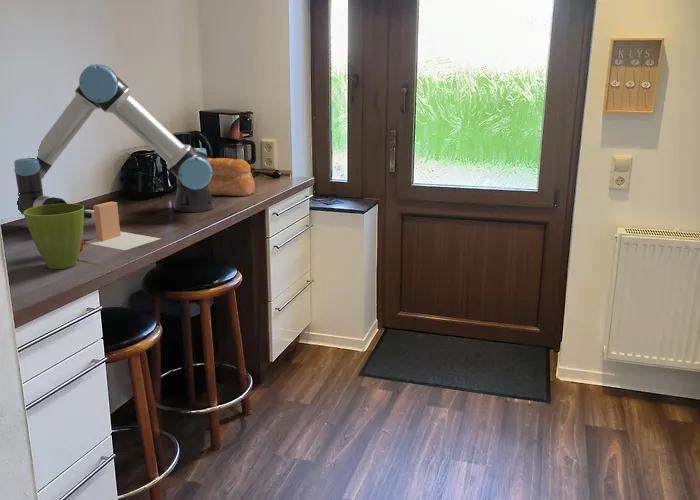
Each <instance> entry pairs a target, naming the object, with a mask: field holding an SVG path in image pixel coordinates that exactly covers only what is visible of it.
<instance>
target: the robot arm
mask: <svg viewBox="0 0 700 500" xmlns="http://www.w3.org/2000/svg"><path fill="white" fill-rule="evenodd" d="M78 79H79V80H78V84H79V85H78V86H77V88H76V89H75V90H74V91H75V93H74V94H75V96H74V97H73V98H72V99H71V101H70V103H69V104H68V105H67V106H66V107H65V109H64V110H63V112H62V113H61V114H60V116H59V117H58V119H56V121H55V122H54V124H52V126H51V127H50V129H49V130H48V131H47V133H46V134H45V136H44V137H43V138H42V140H40V142H41V144H40V146H39V149H38V156H37V159H35V158H29V157H25V158H18V159H15V161H14V162H13V163H14V166H13V167H14V172H15V178H16V179H15V180H16V185H17V195H18V196H19V198H18V201H17V205H18V210H19V211H20V212H21V214H20V215H24V213H23V212H24V211H25V210H27V209H29V208H33V207H37V206H43V205H51V204H68V203H67V201H66V200H65V199H63V198H59V197H53V196H47V195H44V190H43V182H42V180H43V179H44V177H45V176H46V175H47V173H48V172H49V170H51V168H52V166H53V165H54V164H55V162H57V160H58V159H59V157H60V156H61V154H63V152H64V151H65V149H66V148H67V147H68V145H69V144H70V143H71V141H72V140H73V139H74V137H75V136H76V135H77V133H78V132H79V131H80V130H81V128H82V127H83V126H84V124H85V123H86V122H87V120H88V119H89V118H90V117H91V115H92V114H93V112H94V111H95V110H99V109H101V110H102V111H103V112H104V113H112V114H113V115H114V116H115V117H116V118H117V119H119V120H120V121H121V122H122V123H123V124H124V125H126V126H127V127H128V129H130V130H131V131H132V132H133V133H134V134H135V135H136V136H137V137H138V138H140V139H141V140H142V141H143V142H144V144H146V145H147V146H148V147H149V148H151V149H152V150H153V151H154V152H155V154H157V155H158V156H160V157H161V158H162V159H163V160H164V161H165V162H166V168H167V170H168V171H170V172H171V173H172V174H173V175H174V176H175V177H176V184H177V186H176V187H177V188H176V194H175V198H174V201H173V209H174V210H175V211H177V212H182V213H183V212H184V213H197V212H205V211H210V210H214V208H215V200H214V198H213V195H211V193H210V190H209V186H208V183H209V182H210V180H211V178H212V167H211V165H210V163H209V162H208V161H207V158H208V154H207V150H206V148H204V147H199V148H197V147H193V146H192V145H190V144H184V143H183V142H182V141H181V140H180V139H178V138H177V137H176V136H175V135H174V134H173V133H172V132H170V130H169V129H167V128H166V127H165V126H164V125H163V124H162V122H160V121H159V120H158V119H157V118H156V117H155V116H154V115H153V114H151V113H150V112H149V111H148V110H147V109H146V108H145V107H144V106H143V105H142V104H141V103H140V102H139V101H138V100H136V99H135V98H134V97H133V95H131V92H130V87H129V86H128V85H127V83H125V82H124V81H123V80H122V79H121V78H119V76H117V74H116V73H115V72H114V70H113V69H112V68H110V67H108V66H106V65H104V64H96V63H95V64H90V65H89V66H86V67H85V68H84V69H83V71H82V72H81V74H80V75H79V78H78ZM45 174H46V175H45ZM44 175H45V176H44ZM19 193H20V194H19ZM78 204H79V205H82V206H84V220H91V221H95V216H94V207H92V206H88V205H85V204H83V203H78Z"/></svg>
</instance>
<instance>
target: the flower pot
mask: <svg viewBox="0 0 700 500" xmlns="http://www.w3.org/2000/svg"><path fill="white" fill-rule="evenodd" d="M79 204H80V203H67V204H51V205H43V206H37V207H33V208H29V209H27V210H25V211H24V212H23V213H24V220H25V222H26V225H27V228H28V231H29V233H30V236H31V238H32V240H33V242H34V244H35V247H36V249H37V250H38V253H39V254H40V256H41V259H42V260H43V262H44V263H45V265H46V266H47V268H48V269H50V270H63V269H69V268H72V267H74V266H76V265H77V263H78V260H79V255H80V253H81V252H80V248H81V242H82V235H83V236H84V223H85V218H84V206H82V205H79Z"/></svg>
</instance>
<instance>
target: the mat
mask: <svg viewBox="0 0 700 500" xmlns="http://www.w3.org/2000/svg"><path fill="white" fill-rule="evenodd" d="M120 235H121V236H119V237H116V238H112V239H109V240H105V241H100V240H97V238H94V239H90V240H89V239H88V240H86V241H83V242H84V244H88V245H94V246H100V247H105V248H108V249H109V248H111V249H115V250H120V251H127V250H130V249H133V248H137V247H140V246H144V245H147V244H149V243H152V242H156V241H158V240H162V238H161V237H160V238H159V237H155V236H154V237H153V236H149V235H148V236H147V235H142V234H135V233H131V232H124V231H120Z"/></svg>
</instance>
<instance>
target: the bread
mask: <svg viewBox="0 0 700 500" xmlns="http://www.w3.org/2000/svg"><path fill="white" fill-rule="evenodd" d="M207 161H208V162H209V163H210V165H211V167H212V178H211V180H210V182H209V183H208V186H209V190H210V193H211V195H212V196H226V197H229V196H230V197H247V196H251V195H252V194H254V193H255V191H256V184H255V178H254V177H253V175H252V173H251V165H250V164H249V163H248V162H247V160H244V159H241V158H237V159H236V158H229V157H226V158H225V157H216V158H215V157H213V158H211V157H207Z"/></svg>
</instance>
